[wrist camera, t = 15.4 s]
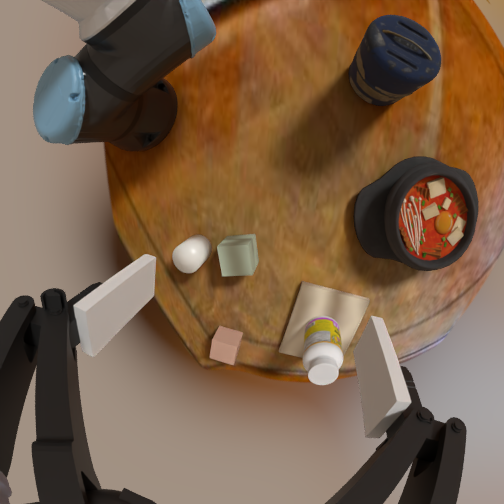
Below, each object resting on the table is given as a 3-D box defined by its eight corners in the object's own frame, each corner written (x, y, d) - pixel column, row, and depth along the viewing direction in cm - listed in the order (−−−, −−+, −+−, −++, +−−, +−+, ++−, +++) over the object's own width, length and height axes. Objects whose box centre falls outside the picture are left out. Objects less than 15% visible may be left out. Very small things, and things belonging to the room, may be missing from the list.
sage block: (231, 262, 50) (222, 276, 45) (227, 236, 49) (217, 246, 43) (258, 261, 49) (252, 275, 43) (255, 233, 47) (248, 244, 42)
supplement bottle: (339, 341, 50) (344, 388, 38) (306, 344, 51) (302, 391, 39) (339, 312, 48) (345, 357, 36) (303, 315, 50) (299, 360, 38)
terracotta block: (216, 343, 57) (209, 357, 52) (219, 325, 55) (212, 339, 51) (238, 350, 57) (233, 365, 52) (243, 332, 55) (237, 347, 50)
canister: (380, 119, 37) (424, 98, 20) (335, 80, 36) (352, 37, 20) (410, 83, 34) (460, 51, 17) (367, 46, 33) (395, -5, 16)
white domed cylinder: (185, 256, 51) (171, 268, 46) (188, 231, 50) (174, 241, 44) (209, 263, 51) (198, 276, 45) (213, 238, 49) (202, 248, 44)
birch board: (279, 348, 54) (278, 352, 53) (302, 281, 49) (302, 284, 48) (338, 361, 53) (338, 365, 52) (368, 298, 47) (369, 301, 46)
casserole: (360, 274, 46) (369, 297, 39) (340, 169, 41) (349, 171, 33) (474, 247, 40) (497, 262, 32) (466, 149, 35) (491, 150, 27)
